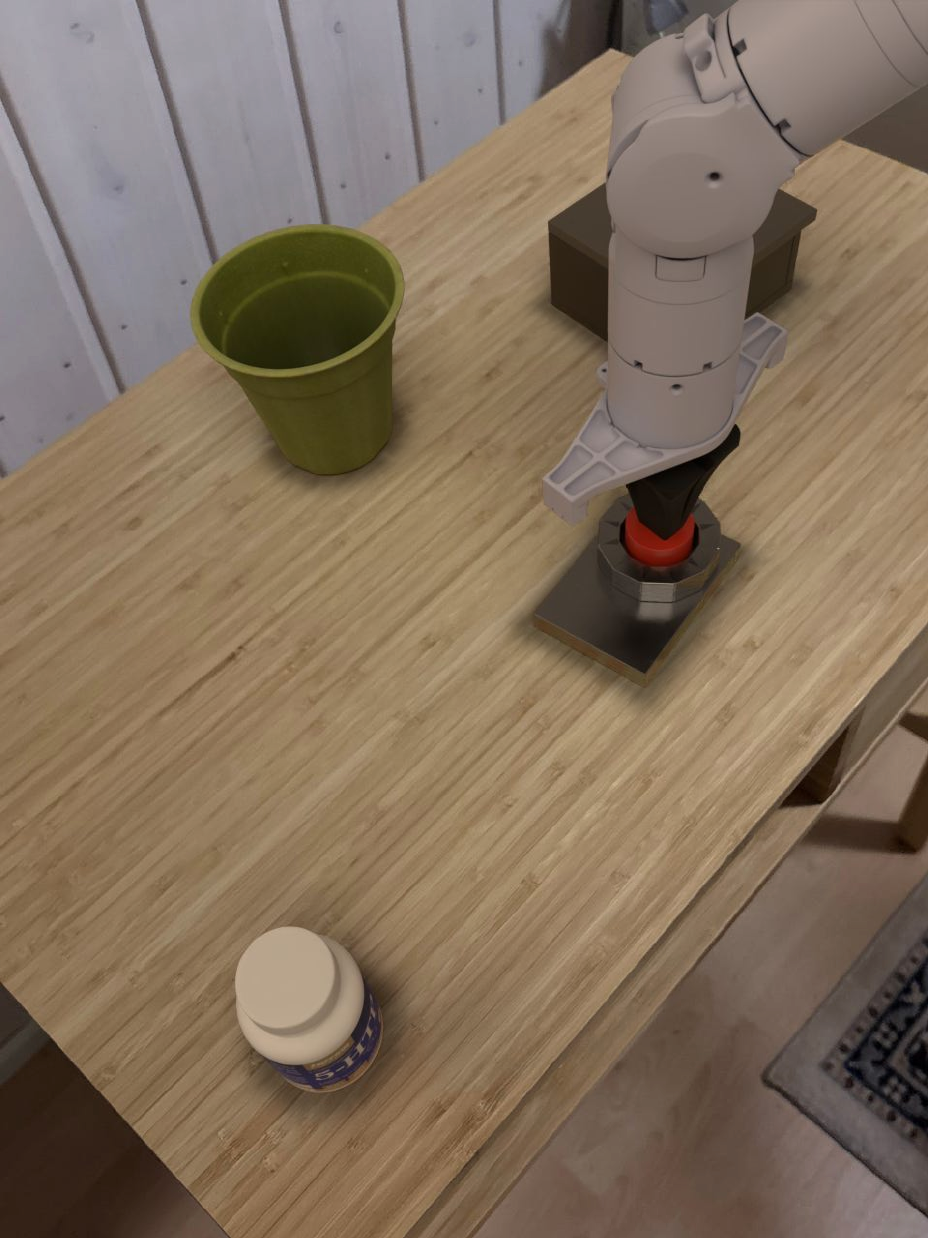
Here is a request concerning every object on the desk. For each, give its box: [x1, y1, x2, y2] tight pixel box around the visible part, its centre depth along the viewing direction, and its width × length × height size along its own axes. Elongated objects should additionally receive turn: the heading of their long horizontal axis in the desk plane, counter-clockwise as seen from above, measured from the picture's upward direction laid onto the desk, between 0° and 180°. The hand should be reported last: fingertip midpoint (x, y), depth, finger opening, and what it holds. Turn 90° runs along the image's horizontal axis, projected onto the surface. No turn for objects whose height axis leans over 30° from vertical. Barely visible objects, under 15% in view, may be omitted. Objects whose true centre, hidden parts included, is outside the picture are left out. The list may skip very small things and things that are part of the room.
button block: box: [532, 493, 742, 688], centre depth 62 cm, size 10×7×3 cm
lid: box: [547, 181, 818, 270], centre depth 70 cm, size 11×12×1 cm
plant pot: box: [189, 223, 406, 475], centre depth 67 cm, size 12×12×11 cm
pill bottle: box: [234, 925, 384, 1093], centre depth 48 cm, size 5×5×9 cm
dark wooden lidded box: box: [547, 230, 803, 343], centre depth 73 cm, size 11×12×6 cm
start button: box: [625, 507, 694, 566], centre depth 61 cm, size 4×4×2 cm
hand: (660, 523), depth 61 cm, fingers closed, pressing on start button
